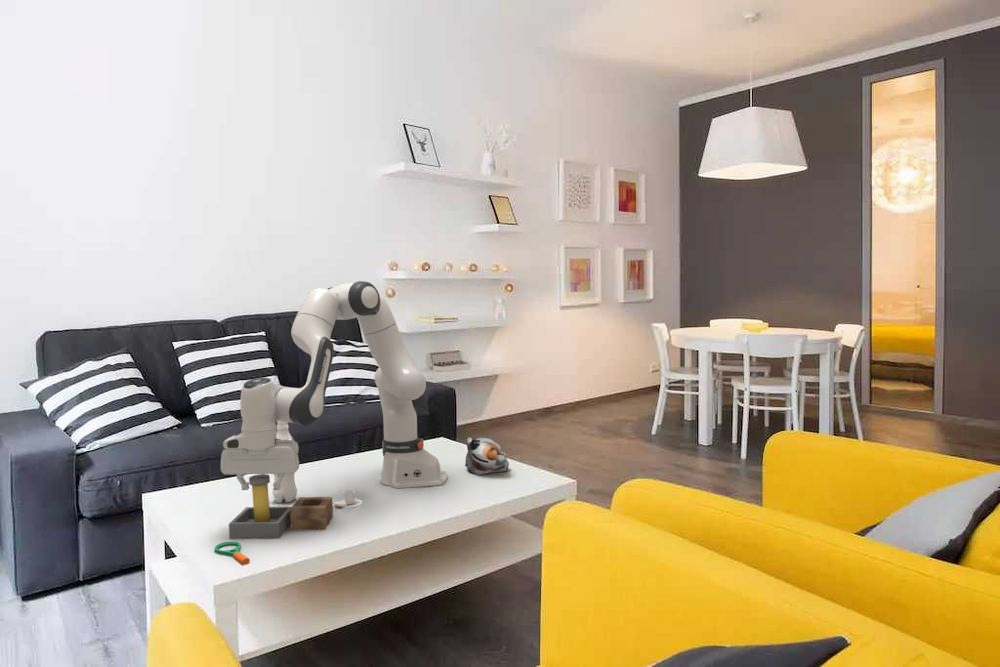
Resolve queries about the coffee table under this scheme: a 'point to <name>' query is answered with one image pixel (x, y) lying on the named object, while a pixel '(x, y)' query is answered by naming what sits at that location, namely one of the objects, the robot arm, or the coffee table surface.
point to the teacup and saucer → (348, 499)
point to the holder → (311, 513)
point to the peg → (260, 497)
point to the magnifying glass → (232, 551)
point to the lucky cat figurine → (485, 456)
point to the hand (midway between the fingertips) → (261, 489)
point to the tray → (260, 524)
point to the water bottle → (288, 482)
